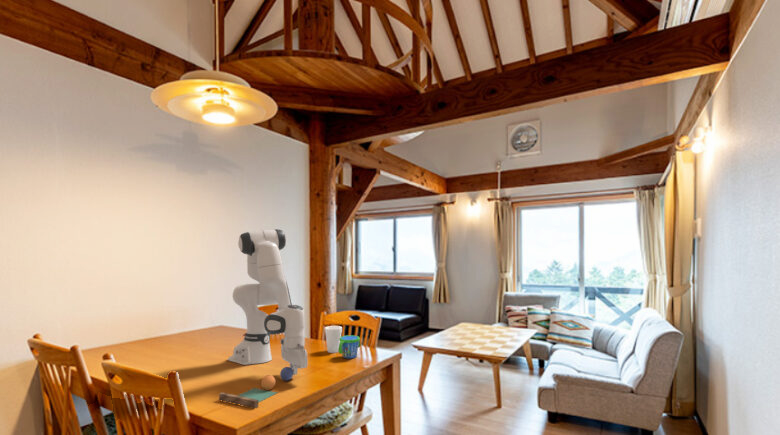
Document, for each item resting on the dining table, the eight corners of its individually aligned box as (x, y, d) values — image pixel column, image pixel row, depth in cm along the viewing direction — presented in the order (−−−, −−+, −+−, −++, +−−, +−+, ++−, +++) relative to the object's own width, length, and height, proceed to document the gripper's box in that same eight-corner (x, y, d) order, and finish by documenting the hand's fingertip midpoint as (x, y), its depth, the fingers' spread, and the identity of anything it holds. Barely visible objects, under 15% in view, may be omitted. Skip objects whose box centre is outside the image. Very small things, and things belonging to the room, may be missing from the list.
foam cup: (322, 353, 214) (322, 329, 215) (327, 348, 223) (328, 325, 224) (339, 353, 213) (339, 329, 214) (343, 349, 222) (344, 326, 223)
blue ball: (280, 382, 171) (275, 373, 169) (288, 373, 175) (283, 363, 174) (290, 384, 168) (285, 374, 166) (297, 374, 173) (293, 364, 171)
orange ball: (258, 390, 158) (258, 376, 159) (267, 386, 163) (268, 372, 164) (268, 392, 156) (269, 378, 156) (278, 388, 161) (278, 374, 161)
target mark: (231, 398, 150) (231, 398, 150) (254, 388, 161) (254, 387, 161) (255, 403, 145) (255, 403, 145) (277, 393, 156) (277, 392, 156)
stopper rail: (218, 400, 148) (219, 393, 148) (222, 399, 149) (222, 392, 150) (255, 408, 141) (255, 401, 141) (258, 407, 142) (258, 400, 142)
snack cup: (345, 362, 198) (345, 341, 198) (331, 358, 204) (331, 338, 205) (366, 355, 209) (367, 336, 210) (353, 352, 216) (353, 333, 217)
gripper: (311, 345, 168) (311, 378, 167) (291, 337, 184) (291, 367, 183) (297, 347, 164) (297, 381, 163) (278, 339, 181) (278, 369, 179)
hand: (294, 373), depth 173 cm, fingers closed
